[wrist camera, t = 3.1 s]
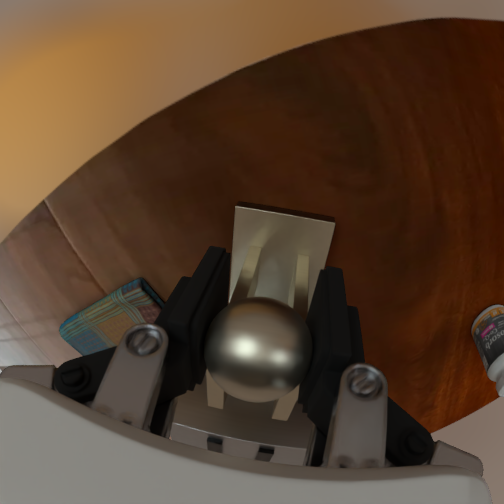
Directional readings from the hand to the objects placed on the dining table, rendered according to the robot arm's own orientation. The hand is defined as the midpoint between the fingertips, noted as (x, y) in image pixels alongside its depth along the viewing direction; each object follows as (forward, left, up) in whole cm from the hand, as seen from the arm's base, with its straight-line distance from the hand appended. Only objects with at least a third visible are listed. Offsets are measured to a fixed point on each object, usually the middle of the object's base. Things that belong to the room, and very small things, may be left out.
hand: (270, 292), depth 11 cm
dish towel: (+26, -18, -14) cm, 34 cm away
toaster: (+18, 0, -14) cm, 22 cm away
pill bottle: (+11, +27, -14) cm, 32 cm away
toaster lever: (+3, 0, -1) cm, 3 cm away
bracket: (+8, 0, -14) cm, 16 cm away
